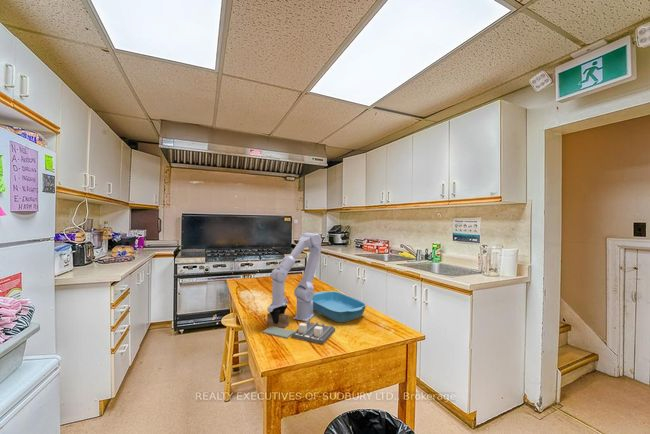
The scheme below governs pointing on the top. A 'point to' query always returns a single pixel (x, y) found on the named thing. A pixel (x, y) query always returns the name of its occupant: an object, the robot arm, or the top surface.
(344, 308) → the casserole dish
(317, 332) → the switch tab
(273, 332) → the mat
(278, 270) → the robot arm
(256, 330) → the top surface
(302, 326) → the switch tab
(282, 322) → the brown rectangular block
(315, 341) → the switch panel
